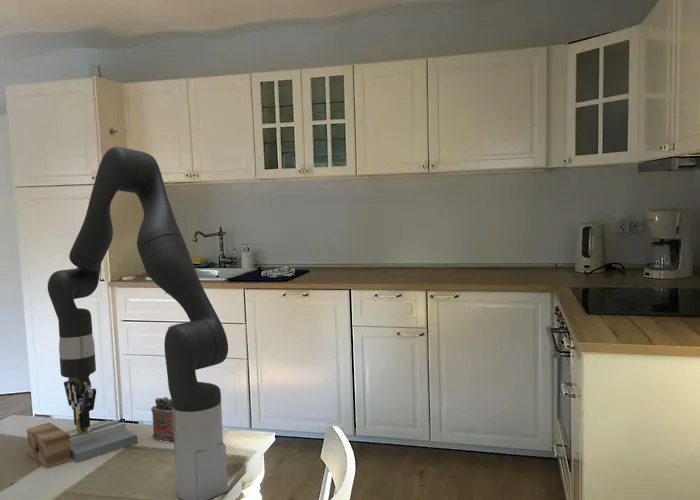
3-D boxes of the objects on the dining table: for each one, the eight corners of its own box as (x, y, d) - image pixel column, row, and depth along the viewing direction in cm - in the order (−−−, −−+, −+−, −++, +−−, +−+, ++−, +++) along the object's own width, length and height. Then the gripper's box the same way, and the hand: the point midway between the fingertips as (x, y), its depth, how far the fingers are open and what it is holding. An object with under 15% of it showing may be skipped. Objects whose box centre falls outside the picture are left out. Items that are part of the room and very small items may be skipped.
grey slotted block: (137, 443, 138) (136, 428, 138) (77, 462, 128) (76, 447, 128) (108, 427, 149) (107, 414, 149) (50, 444, 139) (49, 430, 139)
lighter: (149, 438, 141) (147, 398, 140) (160, 433, 144) (157, 394, 143) (174, 443, 137) (171, 402, 136) (184, 438, 140) (182, 398, 139)
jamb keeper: (71, 460, 129) (69, 434, 129) (47, 468, 126) (45, 441, 125) (51, 447, 138) (50, 422, 137) (28, 453, 134) (26, 428, 134)
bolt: (91, 436, 137) (89, 405, 137) (51, 448, 131) (48, 415, 130) (87, 434, 139) (85, 403, 138) (47, 446, 132) (44, 413, 132)
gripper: (106, 355, 133) (110, 428, 135) (81, 346, 143) (86, 415, 144) (72, 361, 128) (77, 438, 129) (49, 352, 138) (54, 424, 139)
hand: (82, 425), depth 137 cm, fingers closed on bolt, 2 cm apart
